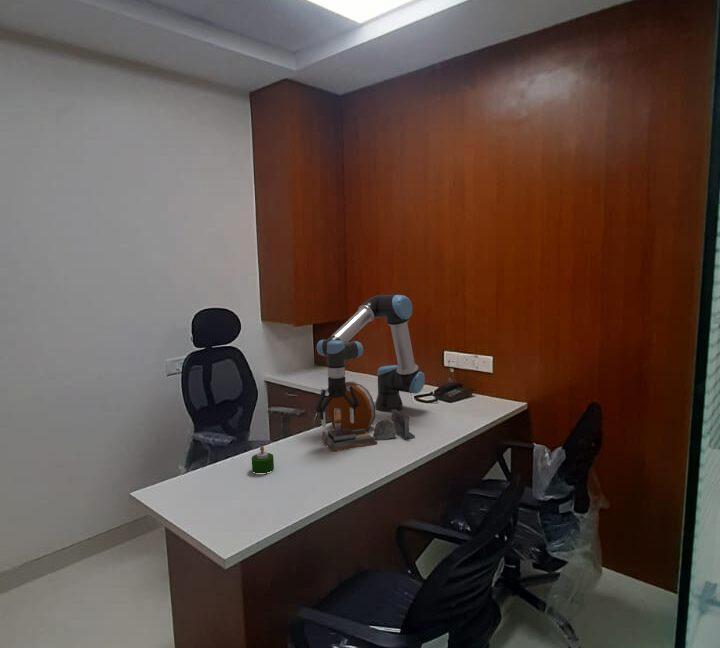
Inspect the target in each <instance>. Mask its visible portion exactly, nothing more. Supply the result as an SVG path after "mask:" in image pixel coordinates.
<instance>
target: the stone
mask: <svg viewBox="0 0 720 648" xmlns="http://www.w3.org/2000/svg"><path fill="white" fill-rule="evenodd" d="M395 427H396V426H395V424H394V422H393V421H392V419H390V418H388V417H387V416H384V417H382V418H381V419H380V420H379V421H377V422H376V423H375V426H374V429H373V433H372V437H374V439H375V440H376V439H377V440H378V441H379V440H387V439H388V440H389V439H393V438H395V436H396V434H397V433H396V428H395Z"/></svg>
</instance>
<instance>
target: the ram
mask: <svg viewBox="0 0 720 648" xmlns="http://www.w3.org/2000/svg"><path fill="white" fill-rule="evenodd" d="M334 423H335V427H334V429H333V430H329V431H327V434H328V436H329V437H330V438H331V439H332V440H333V441H334V443H335V442H341V441H348V440H354V439H356V434H355V433H354V432H353V431H352V430H351V429H350V428H347V429H341V423H342V416H341V408H335V409H334Z"/></svg>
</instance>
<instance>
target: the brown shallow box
mask: <svg viewBox="0 0 720 648" xmlns="http://www.w3.org/2000/svg"><path fill="white" fill-rule="evenodd" d="M352 431H353V432H354V433H355V434H356V439H354V440H348V441H341V442H335V443H334V441H333V440H332V439H331V438H330V437H329V436H328V433H326V431H322V434H321V435H322V437H321V438H322V439H321V440H323V441H322V442H323V444H324V443H325V444H326V445H327V446H328V447H327V446H326V445H325V444H324V445H325V446H326V447H327V448H328V449H329V451H330V450H331V451H333V452H338V450H339V451H344V449H346V450H350V448H352V449H356V448H362V447H363V448H364V447H370V446H375V445H378V441H377V440H376V438H375V437H374V436H372V435H370V434H369V433H368V432H367V431H366V430H365V429H359V430H352ZM331 451H330V452H331Z"/></svg>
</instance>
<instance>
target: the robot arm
mask: <svg viewBox="0 0 720 648" xmlns="http://www.w3.org/2000/svg"><path fill="white" fill-rule="evenodd" d="M412 315H413V304H412V301H411V299H410V298H409V297H407V296H406V295H403V294H402V295H401V294H377V295H375V296H372V297H371V298H369V299H367V300H366V301H365V302H364V303H362V304H361V305H360V306H358V309H357V311H356V312H355V313H354V314H353V315H352V316H351V317H350V318H349V319H347V321H346V322H344V323H343V324H342V325H341V326H340V327H339V328H338V329H337V330H336V331H334V333H333V334H332V335H330V336H329V337H328V339H321V340H319V341H318V342H317V344H316V351H317V353H318V355H320V356H321V357H326V358H327V359H326V360H327V362H326V363H327V376H328V377H327V386H328V387H327V388H321V390H320V395H319V397H318V401H317V403H316V405H315V411H316V412H317V413H319V420H321V426H322V427H323V428H327V427H326V426H327V424H326V412H325V411H326V408H327V407H328V404H329V403H330V401H331V400H332V399H333V398H338V397H339V398H341V397H342V396H343V397H344V398H345V400H346V401H347V402H348V403H349V404H350V405H351V406H352V407H350V422H351V423H354V415H355V414H356V413H355V409H356V407H357V406H359V403H358V401H357V399H356V396H355V394H354V392H353V387H352V386H350V385H349V386H348V387H346V386H345V382H346V361H351V360H355V359H358V358H360V357H362V355H363V353H364V347H363V344H362V343H361V342H359V341H357V340H355V341H351V339H352V338H353V337H355V336H356V334H358V333H359V332H360V331H361V329H363V328H364V327H365V326H366V325H367V324H368V323H369V322H373V321H374V320H375V319H378V318H381V319H382V318H384V319H385V320H386V324H387V325H388V326H389V327H390V330H391V336H392V341H393V346H394V350H395V356H396V361H397V364H393V365H392V364H391V365H384V366H380V367H379V368H377V375H376V376H377V396H376V399H375V403H374V405H375V410H378V411H380V412H381V411H382V412H392V410H393V409H396V410H398V411H400V410H402V409H403V401H402V397H401V394H400V392H402V393H408V394H419V393H420V392H421V391H422V390H423V389H424V385H425V382H426V377H425V373H424V372H422V371H420V370H419V365H418V364H416V363H415V358H414V353H413V349H412V348H413V347H412V341H411V337H410V331H409V326H408V322H409V321H410V317H412ZM346 390H348V391H349V393H350V395H351V397H352V399H353V401H354V403H355V404H353V403H352V402H351V400H350V399H349V398H348V397H347V396H346V394H345V391H346ZM327 393H328V394H327ZM326 395H327V397H326ZM325 398H326V399H325ZM324 399H325V400H324Z"/></svg>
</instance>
